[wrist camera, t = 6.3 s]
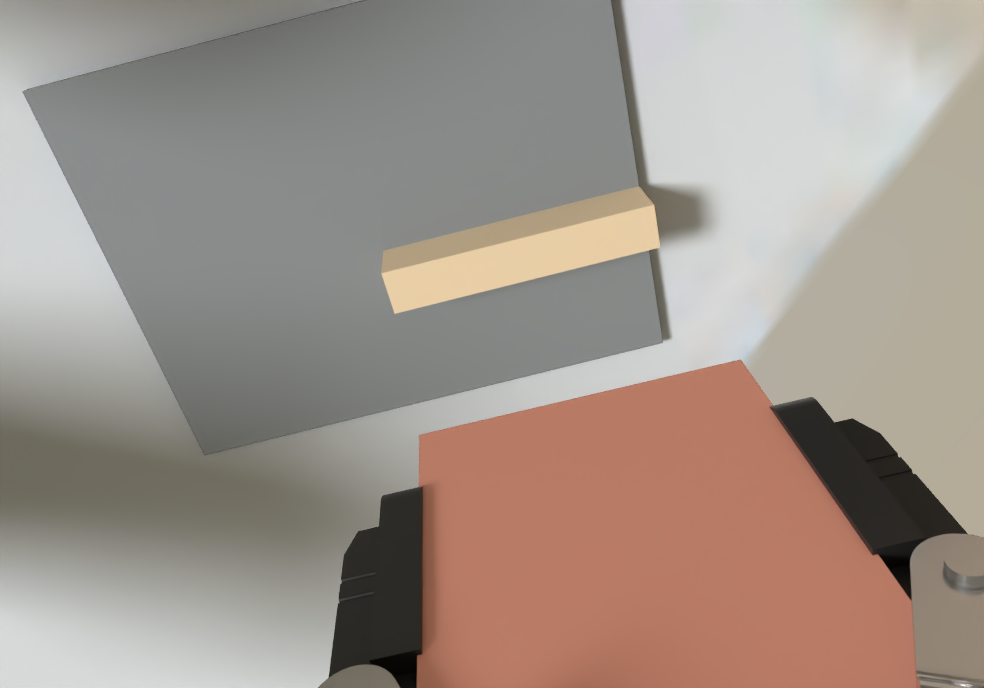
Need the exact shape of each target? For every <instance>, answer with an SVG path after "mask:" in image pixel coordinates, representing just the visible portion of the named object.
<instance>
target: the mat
mask: <svg viewBox="0 0 984 688" xmlns="http://www.w3.org/2000/svg"><path fill="white" fill-rule="evenodd" d="M23 94H24V96H25V98H26V100H27V102H28V104H29V106H30V108H31V110H32V112H33V114H34V116H35V118H36V120H37V122H38V124H39V126H40V128H41V130H42V132H43V134H44V136H45V138H46V140H47V142H48V144H49V146H50V148H51V150H52V152H53V154H54V156H55V158H56V160H57V162H58V164H59V166H60V168H61V170H62V172H63V174H64V176H65V178H66V180H67V182H68V184H69V186H70V188H71V190H72V192H73V194H74V196H75V198H76V200H77V202H78V204H79V206H80V208H81V210H82V212H83V214H84V216H85V218H86V220H87V222H88V224H89V226H90V228H91V230H92V232H93V234H94V236H95V238H96V240H97V242H98V244H99V246H100V248H101V250H102V252H103V254H104V256H105V258H106V260H107V262H108V264H109V266H110V267H111V269H112V271H113V273H114V275H115V277H116V279H117V281H118V283H119V285H120V287H121V289H122V291H123V293H124V295H125V297H126V299H127V301H128V303H129V305H130V307H131V309H132V311H133V313H134V315H135V317H136V319H137V321H138V323H139V325H140V327H141V329H142V331H143V333H144V335H145V337H146V339H147V341H148V343H149V345H150V347H151V349H152V351H153V353H154V355H155V357H156V359H157V361H158V363H159V365H160V367H161V369H162V371H163V373H164V375H165V377H166V379H167V381H168V383H169V385H170V387H171V389H172V391H173V393H174V395H175V397H176V399H177V401H178V403H179V405H180V407H181V409H182V411H183V413H184V415H185V417H186V419H187V421H188V423H189V425H190V427H191V429H192V431H193V433H194V435H195V437H196V439H197V441H198V443H199V445H200V447H201V449H202V451H203V453H204V455H208V454H212V453H216V452H220V451H224V450H228V449H232V448H236V447H241V446H245V445H249V444H253V443H257V442H261V441H265V440H269V439H273V438H277V437H281V436H285V435H289V434H294V433H298V432H302V431H306V430H310V429H314V428H318V427H322V426H326V425H330V424H334V423H338V422H342V421H346V420H351V419H355V418H359V417H363V416H367V415H371V414H375V413H379V412H383V411H387V410H391V409H395V408H399V407H403V406H408V405H412V404H416V403H420V402H424V401H428V400H432V399H436V398H440V397H444V396H448V395H452V394H456V393H461V392H465V391H469V390H473V389H477V388H481V387H485V386H489V385H493V384H497V383H501V382H505V381H509V380H513V379H518V378H522V377H526V376H530V375H534V374H538V373H542V372H546V371H550V370H554V369H558V368H562V367H566V366H571V365H575V364H579V363H583V362H587V361H591V360H595V359H599V358H603V357H607V356H611V355H615V354H619V353H623V352H628V351H632V350H636V349H640V348H644V347H648V346H652V345H656V344H660V343H663V340H662V334H661V327H660V321H659V314H658V307H657V301H656V294H655V288H654V281H653V274H652V268H651V261H650V255H649V250H652V249H656V248H660V241H659V234H658V227H657V220H656V213H655V206H654V204H653V203H652V201H651V200H650V199H649V198H648V196H647V195H646V194H645V193H644V192H643V190H642V189H641V188H640V187H639V182H638V176H637V169H636V162H635V156H634V149H633V143H632V136H631V129H630V123H629V116H628V110H627V103H626V96H625V90H624V83H623V77H622V70H621V63H620V57H619V50H618V44H617V37H616V31H615V24H614V17H613V11H612V4H611V0H363V1H359V2H355V3H352V4H348V5H344V6H340V7H337V8H333V9H329V10H325V11H321V12H318V13H314V14H310V15H306V16H303V17H299V18H295V19H291V20H287V21H284V22H280V23H276V24H272V25H268V26H265V27H261V28H257V29H253V30H250V31H246V32H242V33H238V34H234V35H231V36H227V37H223V38H219V39H216V40H212V41H208V42H204V43H200V44H197V45H193V46H189V47H185V48H182V49H178V50H174V51H170V52H166V53H163V54H159V55H155V56H151V57H148V58H144V59H140V60H136V61H132V62H129V63H125V64H121V65H117V66H113V67H110V68H106V69H102V70H98V71H95V72H91V73H87V74H83V75H79V76H76V77H72V78H68V79H64V80H61V81H57V82H53V83H49V84H45V85H42V86H38V87H34V88H30V89H27V90H25V91H23Z"/></svg>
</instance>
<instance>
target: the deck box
mask: <svg viewBox="0 0 984 688" xmlns="http://www.w3.org/2000/svg"><path fill="white" fill-rule="evenodd" d="M771 406H773V405H772V403H771V402H770V400H769V399H768V398H767V396H766V395H765V393H764V392H763V390H762V389H761V388H760V386H759V385H758V383H757V382H756V381H755V379H754V378H753V376H752V375H751V374H750V372H749V371H748V369H747V368H746V366H745V365H744V363H743V362H742V361H741V360H737V361H732V362H728V363H724V364H720V365H715V366H711V367H707V368H703V369H698V370H694V371H690V372H685V373H681V374H677V375H673V376H668V377H664V378H660V379H656V380H651V381H647V382H643V383H639V384H634V385H630V386H626V387H622V388H617V389H613V390H609V391H605V392H600V393H596V394H592V395H588V396H583V397H579V398H575V399H570V400H566V401H562V402H558V403H553V404H549V405H545V406H541V407H536V408H532V409H528V410H524V411H519V412H515V413H511V414H507V415H502V416H498V417H494V418H490V419H485V420H481V421H477V422H473V423H468V424H464V425H460V426H455V427H451V428H447V429H443V430H438V431H434V432H430V433H426V434H421V435H419V487H422V486H423V588H422V654H421V655H417V688H916V675H915V658H914V641H913V624H912V607H911V600H910V599H909V597H908V596H907V594H906V593H905V592H904V590H903V589H902V587H901V586H900V585H899V583H898V582H897V580H896V579H895V577H894V576H893V575H892V573H891V572H890V570H889V569H888V568H887V566H886V565H885V563H884V562H883V560H882V559H881V558H880V556H879V555H878V554H877V555H872V554H871V553H870V551H869V550H868V548H867V547H866V545H865V544H864V542H863V541H862V540H861V538H860V537H859V535H858V534H857V532H856V531H855V530H854V528H853V527H852V525H851V524H850V522H849V521H848V519H847V518H846V517H845V515H844V514H843V512H842V511H841V509H840V508H839V507H838V505H837V504H836V502H835V501H834V499H833V498H832V496H831V495H830V494H829V492H828V491H827V489H826V488H825V486H824V485H823V484H822V482H821V481H820V479H819V478H818V476H817V475H816V473H815V472H814V471H813V469H812V468H811V466H810V465H809V463H808V462H807V460H806V459H805V458H804V456H803V455H802V453H801V452H800V450H799V449H798V448H797V446H796V445H795V443H794V442H793V440H792V439H791V437H790V436H789V435H788V433H787V432H786V430H785V429H784V427H783V426H782V425H781V423H780V422H779V420H778V419H777V417H776V416H775V414H774V413H773V412H772V410H771V409H770V407H771Z"/></svg>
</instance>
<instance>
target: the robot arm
mask: <svg viewBox="0 0 984 688" xmlns="http://www.w3.org/2000/svg"><path fill="white" fill-rule="evenodd" d="M770 409H771V410H772V412H773V413H774V414H775V416H776V417H777V419H778V420H779V422H780V423H781V425H782V426H783V427H784V429H785V430H786V432H787V433H788V435H789V436H790V437H791V439H792V440H793V442H794V443H795V445H796V446H797V448H798V449H799V450H800V452H801V453H802V455H803V456H804V458H805V459H806V460H807V462H808V463H809V465H810V466H811V468H812V469H813V471H814V472H815V473H816V475H817V476H818V478H819V479H820V481H821V482H822V484H823V485H824V486H825V488H826V489H827V491H828V492H829V494H830V495H831V496H832V498H833V499H834V501H835V502H836V504H837V505H838V507H839V508H840V509H841V511H842V512H843V514H844V515H845V517H846V518H847V519H848V521H849V522H850V524H851V525H852V527H853V528H854V530H855V531H856V532H857V534H858V535H859V537H860V538H861V540H862V541H863V542H864V544H865V545H866V547H867V548H868V550H869V551H870V553H871V554H872V555H877V554H878V555H879V556H880V558H881V559H882V560H883V562H884V563H885V565H886V566H887V568H888V569H889V570H890V572H891V573H892V575H893V576H894V577H895V579H896V580H897V582H898V583H899V585H900V586H901V587H902V589H903V590H904V592H905V593H906V594H907V596H908V597H909V599H910V600H911V607H912V624H913V641H914V658H915V675H916V688H984V538H983V537H979V536H975V535H969V534H967V533H966V531H965V530H964V529H963V528H962V527H961V526H960V525H959V524H958V522H957V521H956V520H955V519H954V518H953V516H952V515H951V514H950V513H949V512H948V511H947V510H946V508H945V507H944V506H943V505H942V504H941V503H940V502H939V500H938V499H937V498H936V497H935V496H934V495H933V494H932V492H931V491H930V490H929V489H928V488H927V487H926V486H925V484H924V483H923V482H922V481H921V480H920V479H919V478H918V476H917V475H916V474H913V473H912V469H911V468H909V466H908V465H907V464H906V463H905V461H904V460H903V459H902V458H901V457H900V458H899V457H898V454H897V452H896V451H895V450H894V449H893V448H892V447H891V445H890V444H889V443H888V442H887V441H886V440H885V439H884V437H883V436H882V435H881V434H880V433H878V432H877V431H875V430H873V429H871V428H869V427H867V426H865V425H863V424H862V423H859V422H858V421H856V420H854V419H848V420H844V421H839V422H835V423H834V422H833V420H832V419H831V418H830V416H829V415H828V414H827V413H826V411H825V410H824V409H823V408H822V406H821V405H820V404H819V403H818V401H817V400H816V399H814V398H813V397H810V398H805V399H801V400H797V401H792V402H788V403H783V404H779V405H775V406H771V407H770ZM341 580H342V584H340V592H339V604H338V608H337V616H336V624H335V632H334V640H333V648H332V656H331V664H330V672H329V678H328V679H327V680H326V681H324V682H323V683H322V684H321V685H320V686H319V687H318V688H417V655H421V654H422V588H423V486H422V487H418V488H413V489H409V490H405V491H401V492H396V493H392V494H388V495H384V496H382V498H381V507H380V521H379V527H375V528H371V529H367V530H362V531H358V533H357V534H356V536H355V538H354V539H353V541H352V543H351V544H350V546H349V548H348V549H347V551H346V553H345V554H344V560H343V568H342V576H341Z"/></svg>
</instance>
